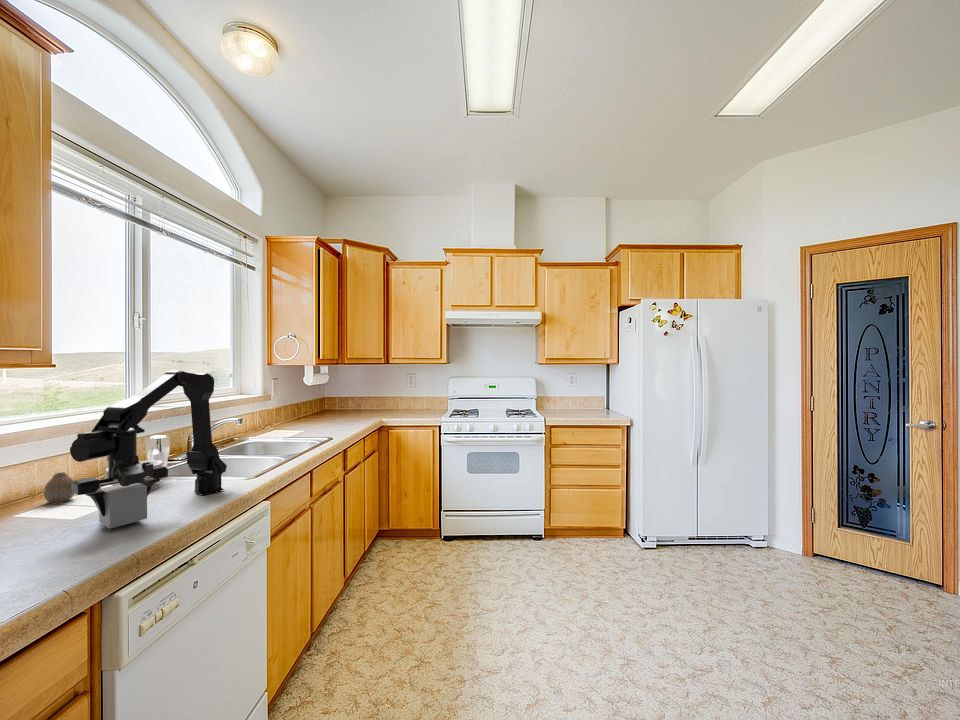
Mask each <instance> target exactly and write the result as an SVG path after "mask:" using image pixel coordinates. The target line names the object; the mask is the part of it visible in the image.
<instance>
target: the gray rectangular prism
mask: <svg viewBox="0 0 960 720" xmlns="http://www.w3.org/2000/svg"><path fill="white" fill-rule="evenodd" d="M101 490H102V491H104V496H103V498H104V506H105V516H101V514H100V512H99V511H98V513H99V515H98V517H99V520H98V521H99V524H102V525H103V526H105V527H106V528H108V529H114V528H118V527H121V526H125V525H128V524H133V523H136V522H139V521H143V520H146V519H148V496H147V486H146V485H144V484H141V483H139V484H138V483H136V484H131V485H129V486H121V485H115V486H112V485H109V486H107V487H106V486H104V487H101Z"/></svg>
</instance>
